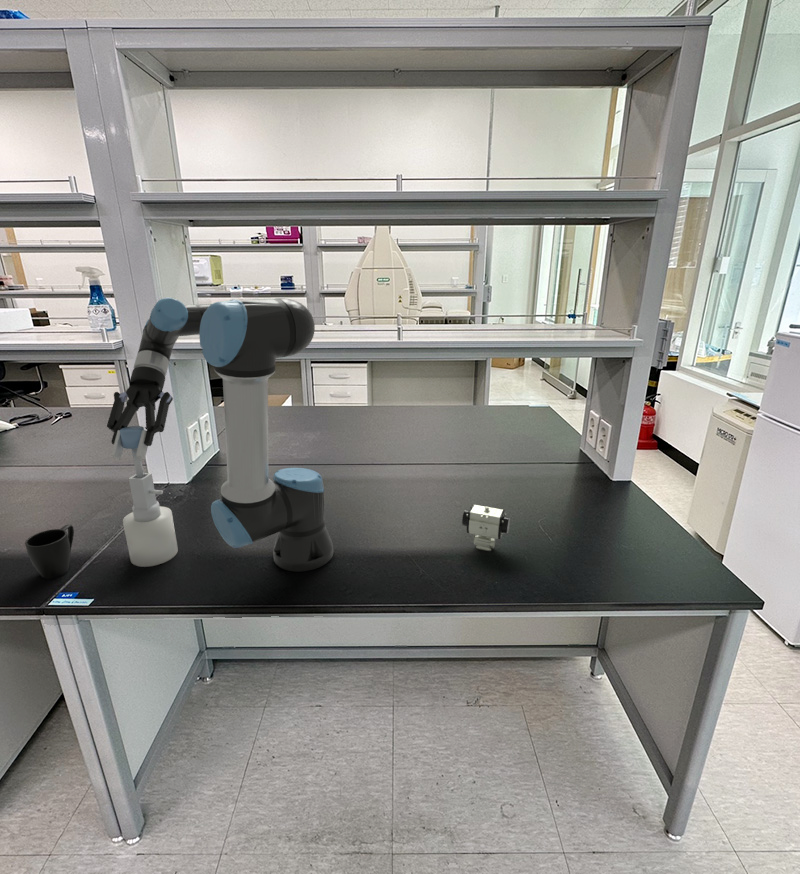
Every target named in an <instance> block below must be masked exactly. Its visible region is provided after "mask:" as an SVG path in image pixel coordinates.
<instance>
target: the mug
mask: <svg viewBox="0 0 800 874" xmlns="http://www.w3.org/2000/svg"><path fill="white" fill-rule="evenodd" d="M74 536H75V529H74V526H73V525H72V524H66V525H64V526H62V527H61V528H54V529H47V530H44V531H40V532H38V533H35V534H33V535H31V536H29V537H28V538H27V539H26V540H25V542H24V543H25V544H24V546H25V549H26V552H27V556H28V558H29V560H30V562H31V564H32V566H33V568H35V570H36V571H37V573H38V574H39V575H40V576H41V578H43V579H47V580H48V579H55V578H58V577H60V576H63V575H65V574H66V573H67V572H68V571H69V569H70V559H71V550H72V545H73V542H74Z"/></svg>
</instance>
